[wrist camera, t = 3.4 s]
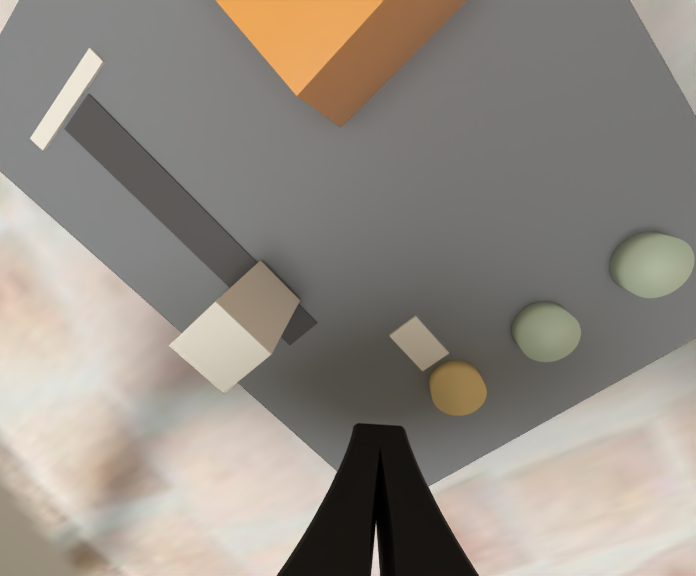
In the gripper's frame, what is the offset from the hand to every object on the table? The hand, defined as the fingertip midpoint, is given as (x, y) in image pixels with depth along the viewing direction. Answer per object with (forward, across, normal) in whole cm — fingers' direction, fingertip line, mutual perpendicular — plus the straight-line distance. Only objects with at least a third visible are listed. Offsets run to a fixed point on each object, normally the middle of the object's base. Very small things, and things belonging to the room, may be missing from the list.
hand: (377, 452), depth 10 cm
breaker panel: (+3, +1, -7) cm, 7 cm away
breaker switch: (+2, +4, -4) cm, 5 cm away
